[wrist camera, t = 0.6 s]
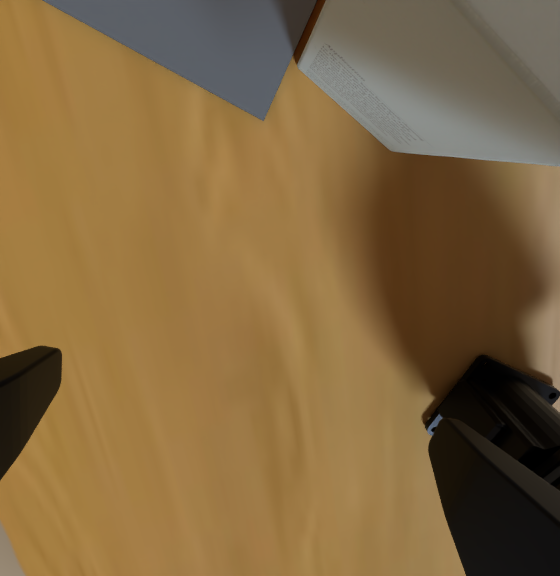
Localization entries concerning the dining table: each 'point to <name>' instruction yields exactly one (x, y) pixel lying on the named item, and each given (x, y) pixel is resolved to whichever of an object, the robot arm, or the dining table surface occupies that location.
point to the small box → (445, 74)
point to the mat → (207, 40)
